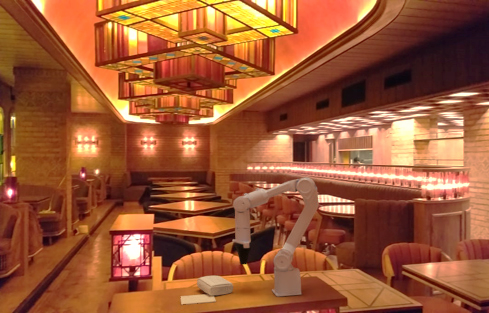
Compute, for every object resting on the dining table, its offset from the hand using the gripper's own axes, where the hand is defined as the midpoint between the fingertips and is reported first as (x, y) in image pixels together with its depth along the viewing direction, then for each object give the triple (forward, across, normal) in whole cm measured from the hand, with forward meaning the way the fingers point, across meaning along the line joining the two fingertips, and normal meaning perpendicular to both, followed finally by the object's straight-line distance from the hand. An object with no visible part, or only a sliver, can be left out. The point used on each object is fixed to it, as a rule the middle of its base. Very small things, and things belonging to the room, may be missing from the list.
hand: (243, 263), depth 157 cm
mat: (+10, +5, -18) cm, 21 cm away
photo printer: (+8, +3, -9) cm, 12 cm away
